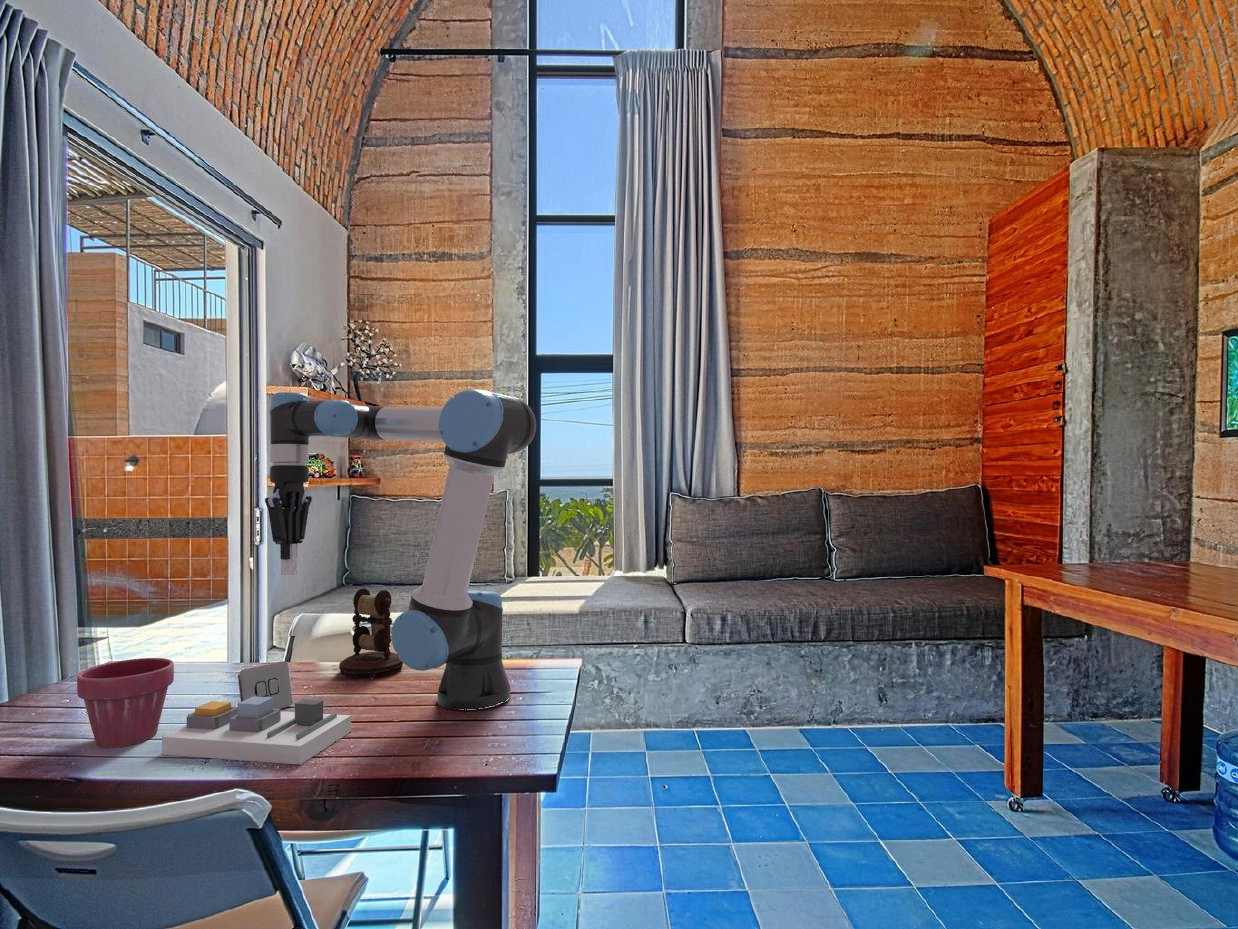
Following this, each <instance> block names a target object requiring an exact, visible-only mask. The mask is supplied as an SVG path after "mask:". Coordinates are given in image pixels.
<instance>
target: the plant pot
mask: <svg viewBox="0 0 1238 929" xmlns="http://www.w3.org/2000/svg"><path fill="white" fill-rule="evenodd" d="M174 678H175V665H174V661H173V660H171V659H168V658H165V657H164V658H162V657H143V658H141V657H139V658H132V659H123V660H117V661H113V662H108V663H103V664H99V665H96V666H93V667H89V668H87V669H85V670H83V671H81V672H80V673H78V674H77V677H76V679H77V680H76V693H77V694H76V695H77V697H78V698H79V699H81V700H83V701H84V705H85V709H86V714H87V717H88V721H89V724H90V728H91V731H92V735H93V738H94V742H95V745H96V746H97V745H98V747H100V748H119V747H124V746H126V747H127V746H130V745H135V744H138V743H141V742H144V741H147V740H149V739H151V738H153V737H154V736H155V735H156V734H157V733H158V729H159V726H160V721H161V716H162V712H163V708H164V705H165V701H166V697H167V692H168V689H169V687H170V686H171V685H172V684H173V683H174V680H175V679H174Z"/></svg>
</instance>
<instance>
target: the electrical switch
mask: <svg viewBox="0 0 1238 929" xmlns="http://www.w3.org/2000/svg"><path fill="white" fill-rule="evenodd" d="M237 680H238V688H239V696H240V697H239V698H240V702H242V701H244V700H246V699H249V698H251V697H253V696H255V697H273V709H286V708H288V707H291V706H292V705H293V703H294V702H293V695H292V687H291V680H290V672H289V664H288V662H287V661H286V660H283V661H282V660H281V661H277V662H272V663H268V664H263V665H257V666H253V667H248V668H242V669H241V670H240V671H239V673H238V675H237Z"/></svg>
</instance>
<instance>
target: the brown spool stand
mask: <svg viewBox="0 0 1238 929" xmlns="http://www.w3.org/2000/svg"><path fill="white" fill-rule="evenodd" d="M352 601H353V607H354V611H353V613H354V615H353V616H352V622H353V624H354V629H353V631H354V632H353V635H352V644H353V647H354V648H353V653H354V654H353V655H349V656H348V657H346V658H345V659H343V660H341V661H340V662H339V666H338V668H339V671H340V674H341V673H344V674H345V673H347V674H354V675H356V674H357V675H360V674H362V675H365V674H366V675H367V674H369V677H370V679H372V678H373V679H375V676H376V674H377V673H384V672H388V671H392V670H395V669H399V668H401V669H402V668H403V665H404V663H403V662H402V661H401V660H400V659H399V657H398V654H397V652H392V651H391V649H390V647H391V645H390V644H392V640H391V626H392V625H393V619H392V617H390V616H391V611H390V609H391V605H392V595H391V593H390V591H388V590H386V589H382V590H380V591H378V592H377V594H376V595H372V594H371V593H370V591H369V590H368V589H367V588H360V589H358V590H357V591H356V593H355V594H354V597H353V600H352ZM363 615H365V616H363ZM366 616H369V617H366ZM361 623H367V624H370V627H371V631H370V629H369V627H367V626H366V625H361ZM361 650H364V651H365V652H361ZM366 651H368V652H366Z"/></svg>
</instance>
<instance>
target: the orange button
mask: <svg viewBox="0 0 1238 929" xmlns="http://www.w3.org/2000/svg"><path fill="white" fill-rule="evenodd" d="M231 706H232V702H231V701H219V700H218V701H215V700H214V701H213V700H212V701H209V702H206V703H204V704H202V705H199V706H197V707H195V708H194V712H195V715H200V716H217V715H219V714H222V713H224V712H226V711H228V710H230V709H231Z"/></svg>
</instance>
